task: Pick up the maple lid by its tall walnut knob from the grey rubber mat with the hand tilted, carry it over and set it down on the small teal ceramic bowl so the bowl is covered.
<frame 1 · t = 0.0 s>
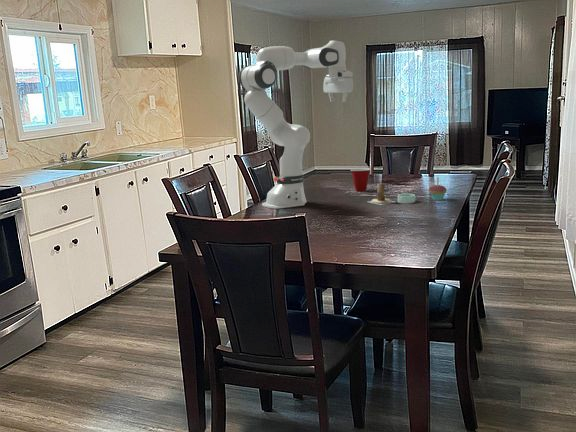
hand: (338, 101, 291), 48 cm above the table, tool pointing down, fingers open, 8 cm apart
lid: (381, 201, 277), resting on mat
mat: (381, 202, 277), on the table
cupcake: (437, 199, 278), on the table
bowl: (406, 202, 275), on the table
plastic cup: (360, 190, 310), on the table
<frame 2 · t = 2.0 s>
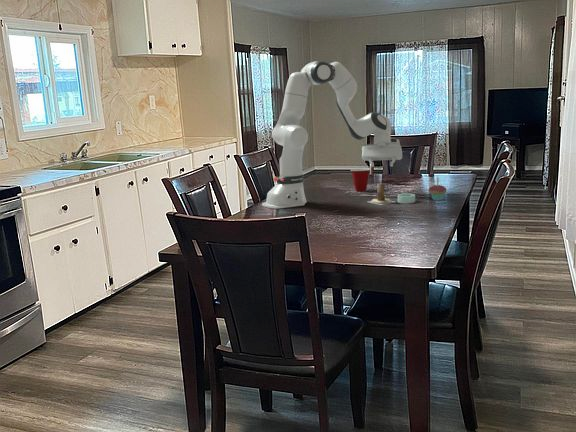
hand: (381, 165, 285), 16 cm above the table, tool tilted 45°, fingers open, 8 cm apart
nothing on the table moved.
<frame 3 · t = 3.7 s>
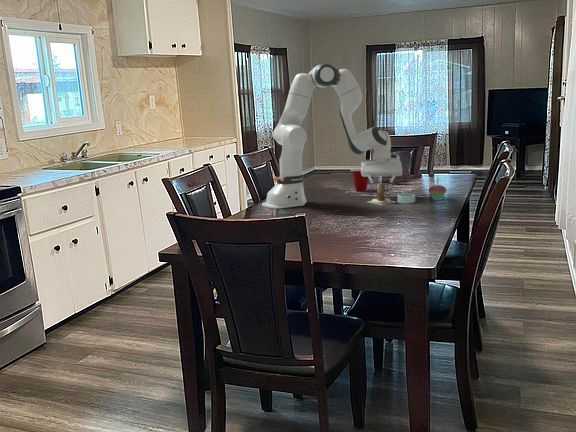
hand: (381, 182, 279), 9 cm above the table, tool tilted 45°, fingers open, 8 cm apart
nothing on the table moved.
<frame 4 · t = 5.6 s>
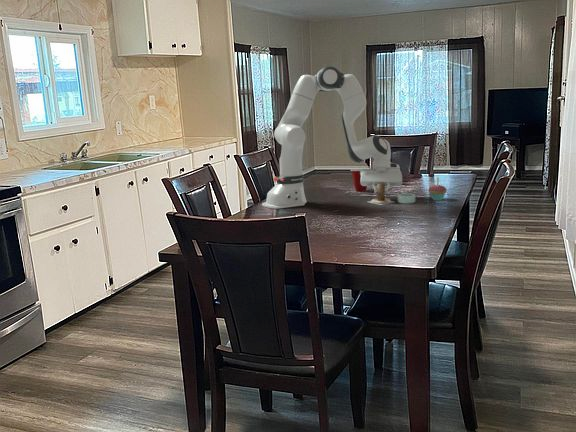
hand: (380, 191, 275), 5 cm above the table, tool tilted 45°, fingers closed on lid, 3 cm apart
lid: (381, 201, 277), resting on mat, touching gripper
everything else where it was.
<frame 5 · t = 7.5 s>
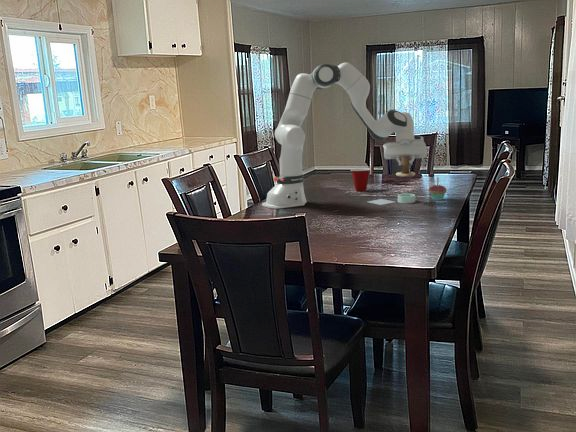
hand: (405, 164, 271), 18 cm above the table, tool tilted 45°, fingers closed on lid, 3 cm apart
lid: (405, 174, 273), point 13 cm above the table, touching gripper
everything else where it was.
when the fingers open (10 cm above the table, at t = 9.4 s): lid drops 1 cm, resting on bowl.
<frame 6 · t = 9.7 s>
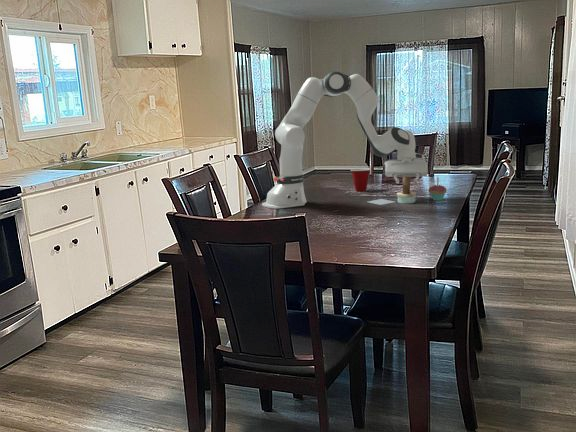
hand: (406, 182, 272), 10 cm above the table, tool tilted 45°, fingers open, 7 cm apart
lid: (406, 195, 274), point 3 cm above the table, touching bowl
everything else where it was.
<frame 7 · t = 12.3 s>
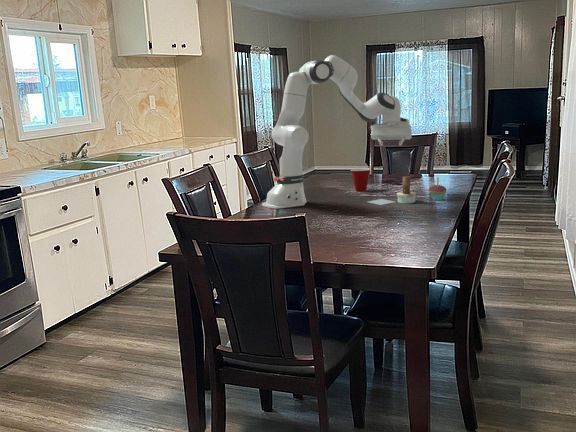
hand: (390, 144, 284), 26 cm above the table, tool tilted 45°, fingers open, 8 cm apart
nothing on the table moved.
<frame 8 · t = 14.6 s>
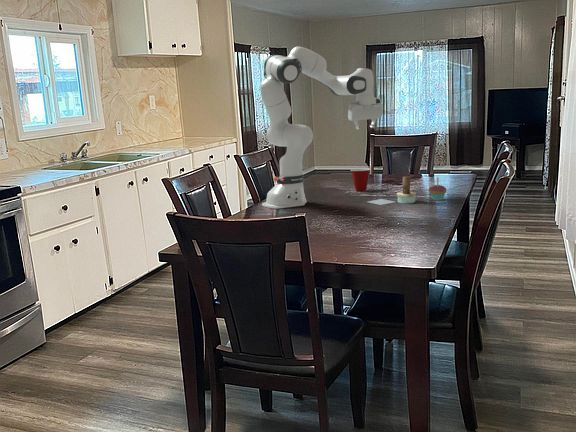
hand: (365, 128, 291), 34 cm above the table, tool pointing down, fingers open, 8 cm apart
nothing on the table moved.
at the end: lid 0.0 cm off-centre on the bowl, point 3.5 cm above the bowl's base; lid tilted 0°; the gripper is holding nothing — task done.
